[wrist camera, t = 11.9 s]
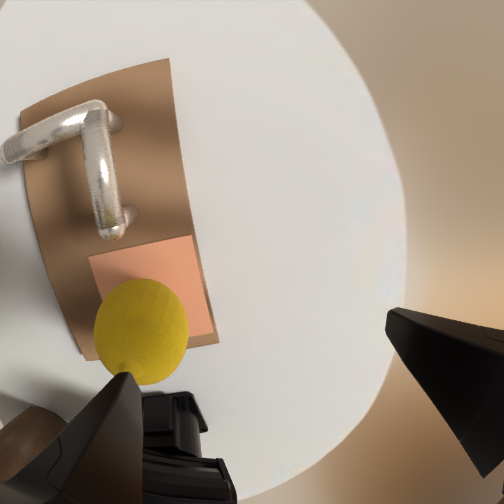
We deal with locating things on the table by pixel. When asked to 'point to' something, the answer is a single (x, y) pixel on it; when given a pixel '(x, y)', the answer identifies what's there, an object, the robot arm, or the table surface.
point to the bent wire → (95, 158)
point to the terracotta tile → (158, 274)
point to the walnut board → (129, 181)
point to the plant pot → (26, 439)
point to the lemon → (141, 330)
